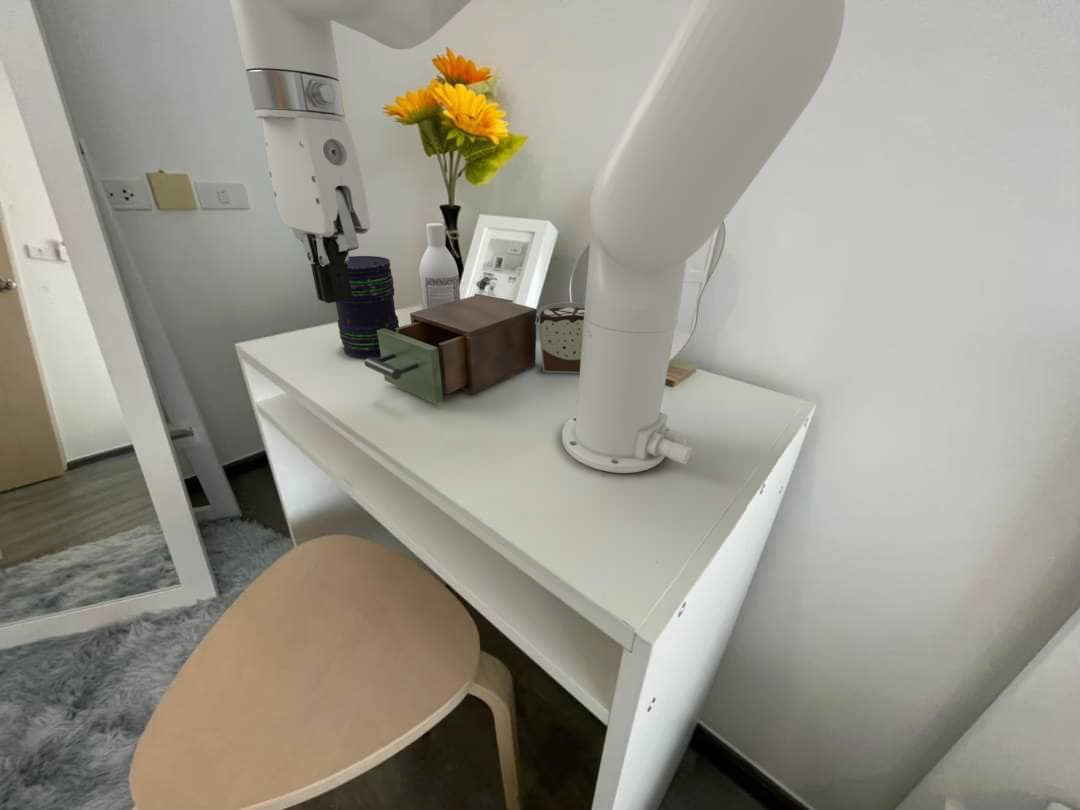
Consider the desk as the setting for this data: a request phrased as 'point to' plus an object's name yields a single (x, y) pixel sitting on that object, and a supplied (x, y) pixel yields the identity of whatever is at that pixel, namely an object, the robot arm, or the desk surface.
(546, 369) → the food container
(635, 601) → the desk surface
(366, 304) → the storage jar
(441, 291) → the bath foam
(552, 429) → the desk surface
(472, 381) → the cabinet
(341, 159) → the robot arm
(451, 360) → the drawer
